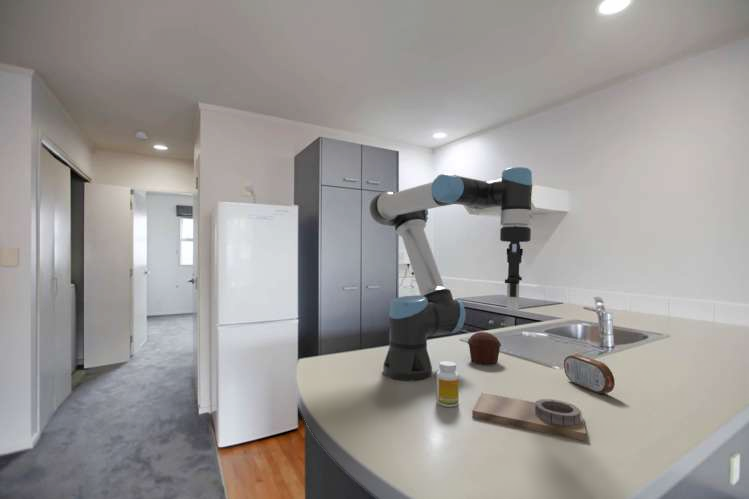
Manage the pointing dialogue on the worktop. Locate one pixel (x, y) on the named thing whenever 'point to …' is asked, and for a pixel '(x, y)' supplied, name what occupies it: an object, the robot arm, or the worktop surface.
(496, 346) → the muffin
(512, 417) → the board
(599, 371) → the tin
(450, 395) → the supplement bottle
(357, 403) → the worktop surface
